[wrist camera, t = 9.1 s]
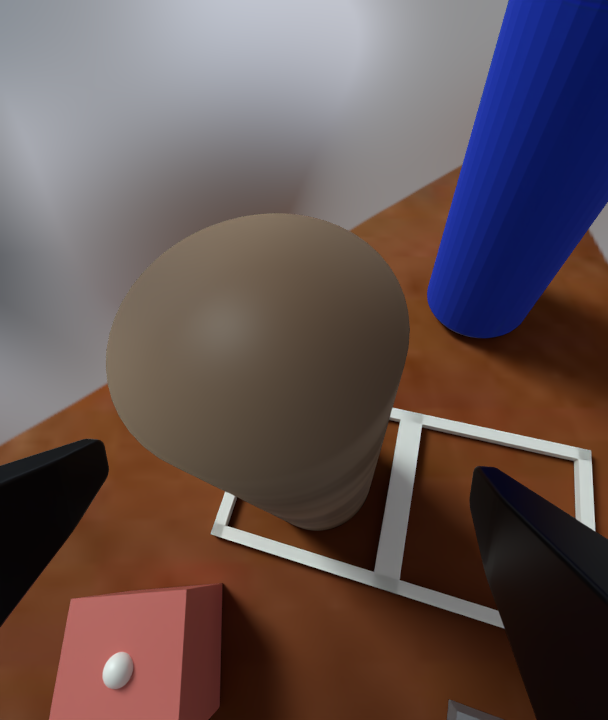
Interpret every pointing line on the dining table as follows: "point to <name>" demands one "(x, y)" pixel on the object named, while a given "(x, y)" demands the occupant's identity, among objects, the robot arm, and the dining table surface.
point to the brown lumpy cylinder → (265, 363)
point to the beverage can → (527, 167)
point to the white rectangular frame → (399, 509)
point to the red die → (141, 656)
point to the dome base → (466, 713)
